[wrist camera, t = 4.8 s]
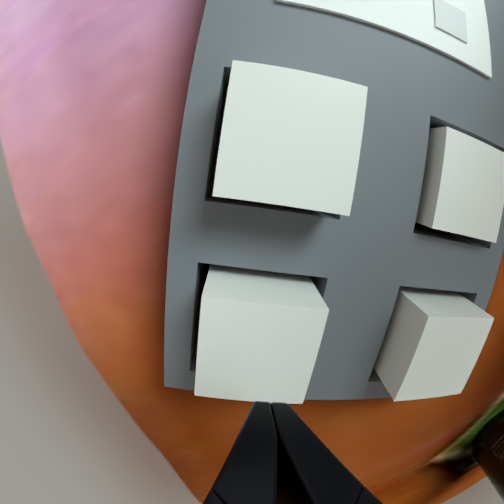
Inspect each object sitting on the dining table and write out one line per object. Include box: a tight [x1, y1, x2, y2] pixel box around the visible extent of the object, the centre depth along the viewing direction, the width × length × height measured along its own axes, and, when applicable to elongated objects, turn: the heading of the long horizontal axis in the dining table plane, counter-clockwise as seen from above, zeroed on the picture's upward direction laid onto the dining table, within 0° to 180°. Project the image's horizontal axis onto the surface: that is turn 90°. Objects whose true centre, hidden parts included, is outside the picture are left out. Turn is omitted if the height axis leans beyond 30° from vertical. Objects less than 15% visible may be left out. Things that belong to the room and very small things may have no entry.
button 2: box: [194, 264, 329, 404], centre depth 12 cm, size 4×4×3 cm
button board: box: [164, 0, 504, 400], centre depth 11 cm, size 15×26×3 cm, turn 172°
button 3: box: [415, 126, 504, 243], centre depth 12 cm, size 4×4×3 cm
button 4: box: [373, 286, 494, 401], centre depth 12 cm, size 4×4×3 cm
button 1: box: [213, 60, 368, 216], centre depth 10 cm, size 4×4×3 cm
